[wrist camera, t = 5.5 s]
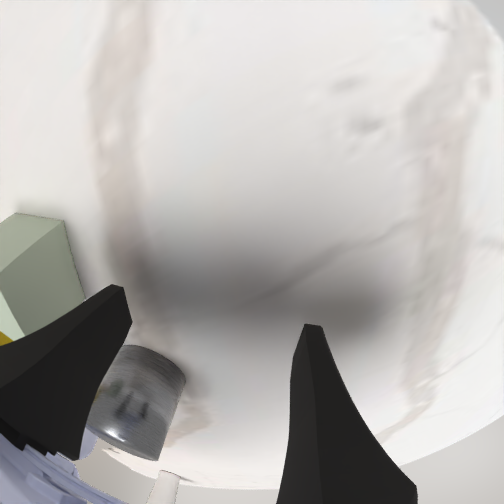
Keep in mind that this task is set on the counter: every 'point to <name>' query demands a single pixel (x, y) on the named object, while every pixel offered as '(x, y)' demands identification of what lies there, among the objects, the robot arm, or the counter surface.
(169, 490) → the drinking glass
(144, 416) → the can
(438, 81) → the counter surface
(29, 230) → the block
